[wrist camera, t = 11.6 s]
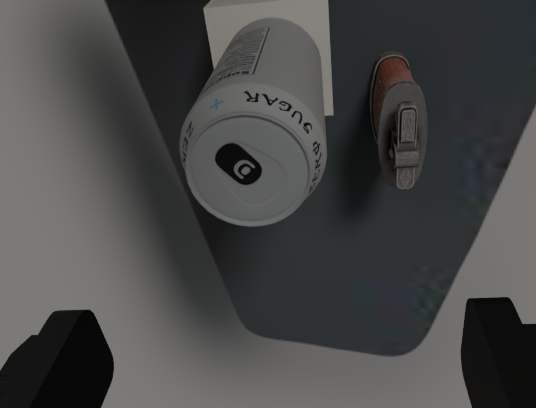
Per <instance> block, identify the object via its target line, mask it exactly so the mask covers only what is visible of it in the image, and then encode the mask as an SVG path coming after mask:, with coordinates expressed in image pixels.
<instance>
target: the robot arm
mask: <svg viewBox="0 0 536 408" xmlns="http://www.w3.org/2000/svg"><path fill="white" fill-rule="evenodd" d="M461 364H462V371H463V377H464V381H465V385H466V388H467V391H468V395H469V399H470V402H471V405H472V408H536V324H522V322H521V320H520V318H519V316H518V313H517V311H516V309H515V307H514V305H513V303H512V301H511V300H510V299H509V298H508V297H501V298H469V299H468V300H467V303H466V311H465V319H464V328H463V336H462V345H461ZM113 371H114V361H113V356H112V353H111V351H110V348H109V346H108V344H107V342H106V339H105V337H104V335H103V333H102V330H101V328H100V326H99V324H98V321H97V319H96V317H95V315H94V313H93V312H92V311H91V310H64V311H55V312H53V313H52V314H51V315H50V316H49V318H48V320H47V321H46V323H45V324H44V326H43V328H42V329H41V331H40V333H39V334H38V335H31V336H30V337H29V338H28V339H27V340H26V341H25V342H24V343H23V344H21V345H20V346H19V347H18V348H17V349H16V350H15V351H14V352H13V353H12V354H11V355H10V356H9V358H8V360H7V361H6V363H5V364H4V366H3V367H2V369H1V370H0V408H101V406H102V404H103V401H104V399H105V396H106V394H107V391H108V389H109V387H110V384H111V381H112V378H113Z"/></svg>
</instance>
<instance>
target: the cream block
mask: <svg viewBox="0 0 536 408" xmlns="http://www.w3.org/2000/svg"><path fill="white" fill-rule="evenodd" d="M203 10H204V15H205V21H206V27H207V33H208V38H209V44H210V50H211V56H212V61H213V67H214V69H215V67H216V66H217V64H218V62H219V60H220V59H221V57H222V55H223V54H224V52H225V50H226V48H227V47H228V45H229V43H230V42H231V40H232V39H233V37H234V36H235V35H236V33H237V32H238V31H240V30H241V29H242V28H243V27H244V26H246V25H248V24H249V23H251V22H253V21H256V20H259V19H263V18H271V17H272V18H282V19H285V20H289V21H292V22H293V23H295V24H297V25H299V26H300V27H302V28H303V29H304V30H305V31H306V32H308V34H309V35H310V36H311V37H312V39H313V40H314V42H315V44H316V46H317V48H318V50H319V53H320V57H321V66H322V82H323V98H324V114H325V116H327V115H333V96H332V75H331V54H330V33H329V12H328V0H211V1H210V2H209V3H208V4H207V5H206V6H205V7H204V8H203Z"/></svg>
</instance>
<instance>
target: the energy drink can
mask: <svg viewBox="0 0 536 408" xmlns="http://www.w3.org/2000/svg"><path fill="white" fill-rule="evenodd" d="M180 157H181V161H182V165H183V168H184V170H185V173H186V178H187V182H188V185H189V187H190V189H191V192H192V194H193V195H194V197H195V198H196V199H197V201H198V202H199V203H200V204H201V205H202V206H203V207H204V208H205V209H206V210H207V211H208V212H210V213H211V214H213V215H214V216H215V217H217V218H219V219H221V220H223V221H226V222H228V223H231V224H235V225H239V226H248V227H255V226H264V225H269V224H273V223H275V222H278V221H280V220H282V219H284V218H286V217H287V216H289V215H290V214H292V213H293V212H294V211H295V210H296V209H297V208H298V207H299V206H300V205H301V204H302V202H303V201H304V200H305V199H306V198H307V197H308V196H309V195H310V194H311V193H312V192H313V191H314V189H315V188H316V186H317V185H318V183H319V182H320V180H321V177H322V175H323V172H324V169H325V165H326V158H327V147H326V131H325V114H324V98H323V82H322V66H321V57H320V53H319V50H318V48H317V46H316V44H315V42H314V40H313V39H312V37H311V36H310V35H309V34H308V32H306V31H305V30H304V29H303V28H302V27H300V26H299V25H297V24H295V23H293V22H292V21H289V20H285V19H282V18H272V17H271V18H263V19H259V20H256V21H253V22H251V23H249V24H248V25H246V26H244V27H243V28H242V29H241V30H240V31H238V32H237V33H236V35H235V36H234V37H233V39H232V40H231V42H230V43H229V45H228V47H227V48H226V50H225V52H224V54H223V55H222V57H221V59H220V60H219V62H218V64H217V66H216V67H215V69H214V71H213V72H212V74H211V76H210V78H209V79H208V81H207V83H206V84H205V86H204V88H203V90H202V91H201V93H200V95H199V96H198V98H197V100H196V102H195V103H194V105H193V107H192V108H191V110H190V112H189V114H188V115H187V118H186V120H185V122H184V124H183V127H182V130H181V136H180Z"/></svg>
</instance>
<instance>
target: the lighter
mask: <svg viewBox="0 0 536 408" xmlns="http://www.w3.org/2000/svg"><path fill="white" fill-rule="evenodd" d="M369 103H370V115H371V123H372V127H373V132H374V136H375V140H376V142H377V144H378V154H379V160H380V165H381V169H382V174H383V178H384V180H385V182H386V183H387V184H388V185H389V186H392V187H395V188H400V189H408V188H411V187H412V186H413V185H414V183H415V182H416V181H417V180H418V178H419V176H420V172H421V168H422V165H423V161H424V158H425V151H426V144H427V113H426V107H425V100H424V95H423V92H422V90H421V88H420V87H419V86H418V85H417V84H416V83H415V82H414V80H413V78H412V76H411V74H410V68H409V64H408V61H407V59H406V57H404V56H403V55H402V54H400V53H398V52H388V53H385V54H383V55H381V56H380V57H379V58H378V59H377V60H376V62H375V64H374V69H373V74H372V79H371V87H370V101H369Z"/></svg>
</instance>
